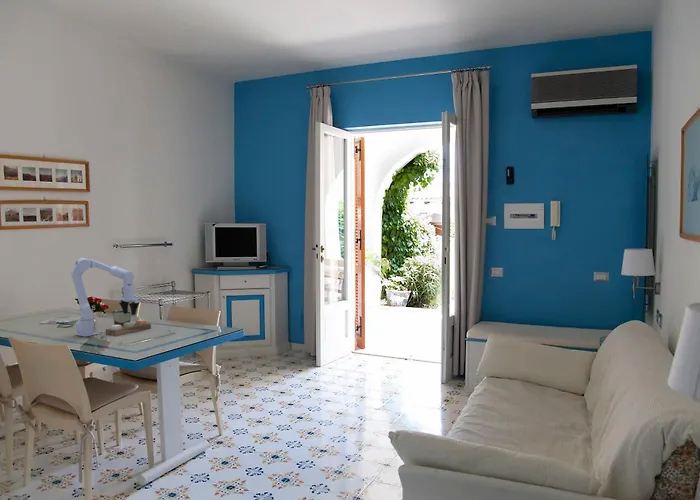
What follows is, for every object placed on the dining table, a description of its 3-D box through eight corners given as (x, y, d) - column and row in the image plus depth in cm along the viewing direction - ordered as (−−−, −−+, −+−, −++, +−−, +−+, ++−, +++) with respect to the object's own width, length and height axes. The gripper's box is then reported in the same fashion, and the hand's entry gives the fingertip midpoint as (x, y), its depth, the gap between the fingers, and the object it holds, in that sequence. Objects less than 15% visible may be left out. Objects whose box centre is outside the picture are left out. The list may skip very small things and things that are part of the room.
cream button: (111, 331, 326) (110, 325, 326) (117, 330, 329) (116, 324, 329) (115, 332, 324) (115, 326, 324) (121, 331, 327) (121, 325, 327)
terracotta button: (136, 326, 340) (135, 320, 340) (141, 325, 344) (141, 319, 344) (140, 327, 338) (140, 321, 338) (146, 325, 342) (145, 320, 341)
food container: (136, 324, 354) (135, 308, 354) (131, 326, 348) (130, 310, 348) (117, 324, 356) (116, 308, 355) (112, 326, 349) (111, 310, 349)
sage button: (123, 328, 333) (123, 323, 333) (129, 327, 337) (129, 322, 336) (128, 329, 331) (128, 323, 331) (134, 328, 334) (133, 322, 334)
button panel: (106, 334, 326) (105, 329, 326) (141, 326, 346) (141, 322, 346) (115, 336, 321) (115, 330, 321) (151, 328, 342) (150, 323, 341)
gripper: (142, 291, 336) (143, 314, 337) (126, 289, 344) (127, 312, 345) (132, 292, 330) (133, 316, 331) (116, 291, 338) (117, 314, 339)
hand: (129, 314), depth 337 cm, fingers open, 7 cm apart
